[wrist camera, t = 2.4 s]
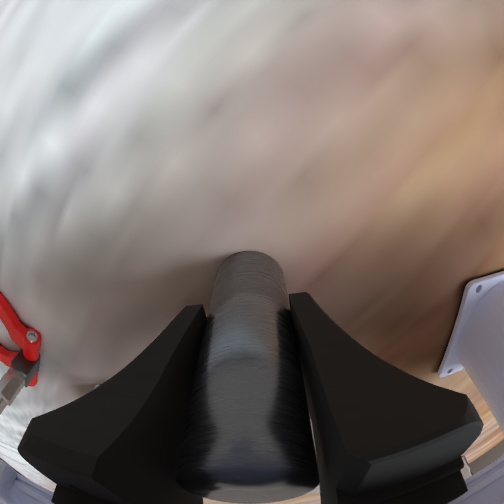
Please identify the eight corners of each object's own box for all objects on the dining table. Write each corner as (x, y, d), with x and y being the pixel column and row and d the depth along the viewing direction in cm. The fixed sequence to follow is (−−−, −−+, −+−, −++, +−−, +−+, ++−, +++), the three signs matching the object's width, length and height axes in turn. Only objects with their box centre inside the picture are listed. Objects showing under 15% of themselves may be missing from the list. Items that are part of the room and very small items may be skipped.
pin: (280, 246, 12) (323, 457, 4) (286, 305, 13) (316, 497, 5) (210, 256, 12) (152, 461, 4) (223, 313, 13) (199, 502, 5)
